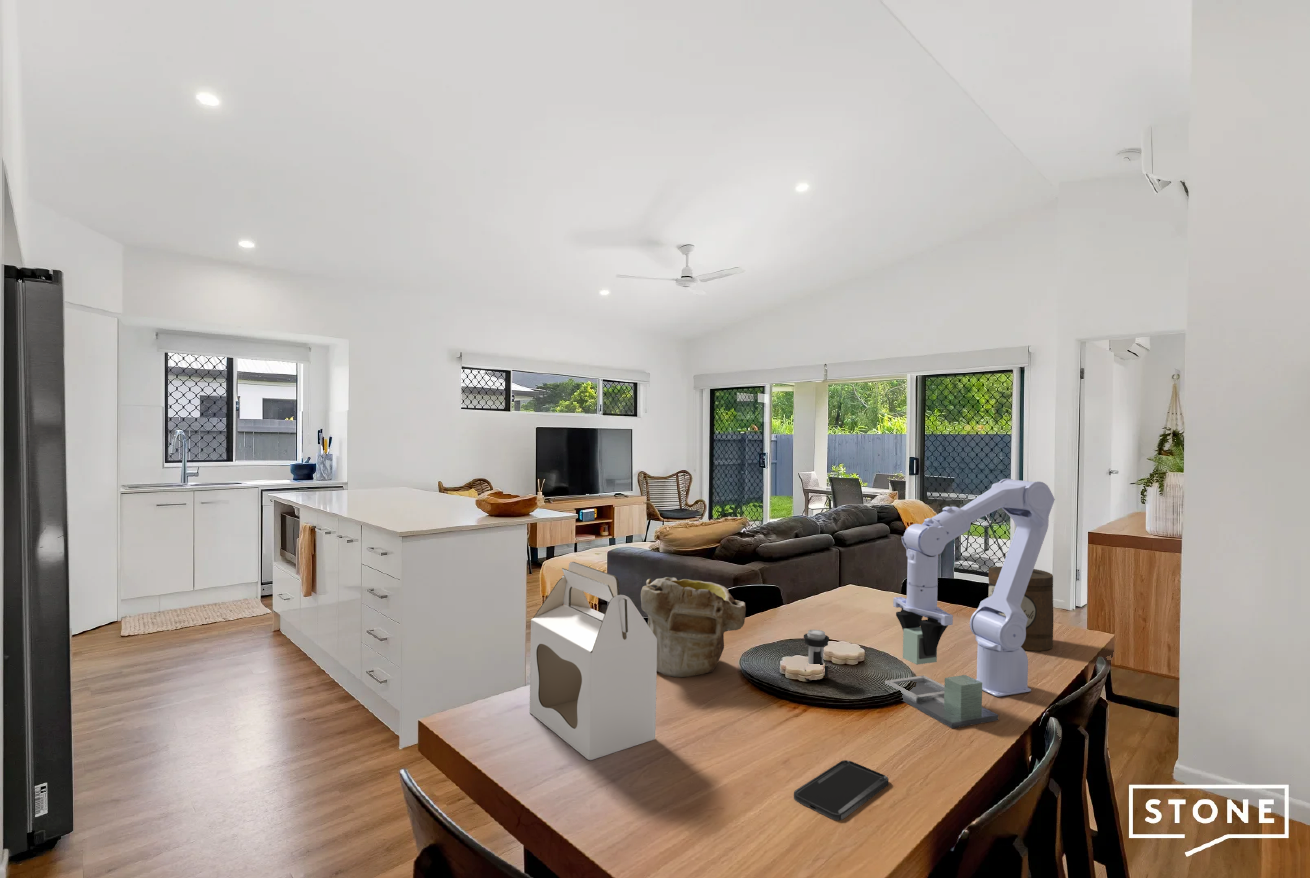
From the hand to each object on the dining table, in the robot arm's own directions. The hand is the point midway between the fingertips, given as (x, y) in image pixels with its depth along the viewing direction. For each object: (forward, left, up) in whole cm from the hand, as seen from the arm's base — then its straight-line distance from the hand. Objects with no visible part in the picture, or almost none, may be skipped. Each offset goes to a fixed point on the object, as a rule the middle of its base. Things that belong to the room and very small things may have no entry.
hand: (920, 651), depth 133 cm
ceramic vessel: (+38, -28, -9) cm, 48 cm away
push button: (+16, -14, -9) cm, 23 cm away
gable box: (+67, -7, -9) cm, 68 cm away
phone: (+37, +25, -10) cm, 46 cm away
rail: (0, +4, -9) cm, 10 cm away
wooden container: (-50, -20, -9) cm, 55 cm away
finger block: (0, 0, -2) cm, 2 cm away
